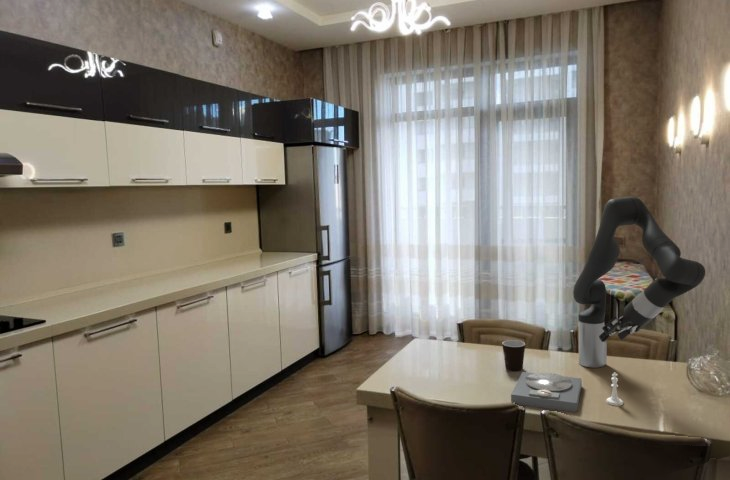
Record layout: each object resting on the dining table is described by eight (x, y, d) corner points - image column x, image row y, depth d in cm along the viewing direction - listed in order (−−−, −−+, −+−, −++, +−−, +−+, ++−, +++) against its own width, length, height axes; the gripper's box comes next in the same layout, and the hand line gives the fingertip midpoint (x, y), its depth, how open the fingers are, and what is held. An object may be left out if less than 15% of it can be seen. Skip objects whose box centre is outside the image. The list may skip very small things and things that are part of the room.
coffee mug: (522, 373, 195) (521, 348, 194) (499, 370, 199) (499, 345, 198) (530, 364, 205) (529, 339, 204) (508, 361, 209) (508, 337, 208)
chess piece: (603, 400, 168) (603, 370, 167) (617, 398, 169) (617, 369, 168) (611, 406, 164) (611, 375, 163) (626, 405, 164) (626, 374, 163)
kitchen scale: (522, 379, 189) (522, 368, 188) (581, 386, 180) (581, 375, 180) (511, 403, 169) (511, 391, 169) (576, 412, 160) (576, 399, 160)
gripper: (652, 296, 159) (618, 327, 170) (620, 298, 153) (587, 330, 164) (668, 316, 155) (632, 346, 165) (636, 319, 148) (601, 350, 159)
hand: (610, 338), depth 164 cm, fingers open, 8 cm apart
